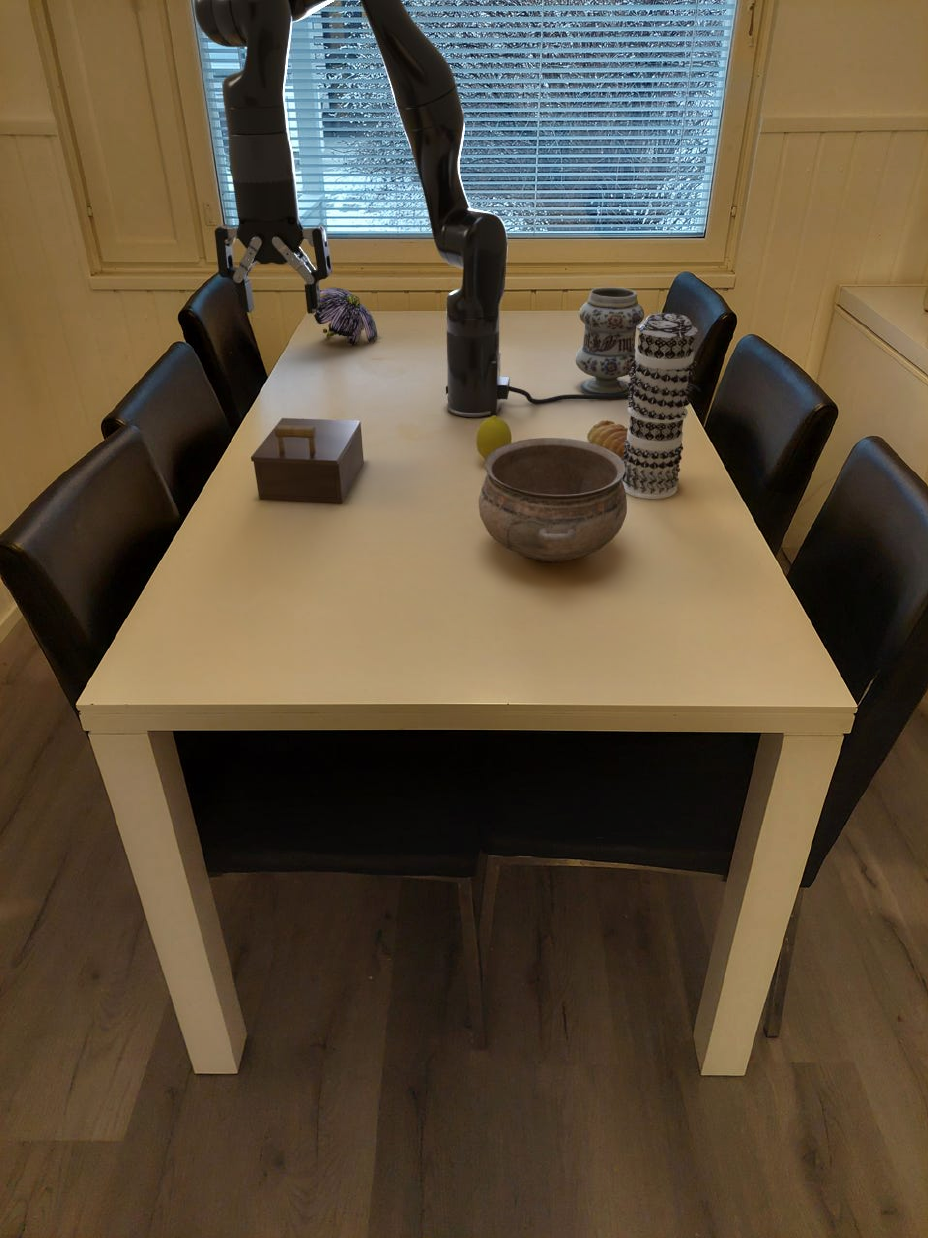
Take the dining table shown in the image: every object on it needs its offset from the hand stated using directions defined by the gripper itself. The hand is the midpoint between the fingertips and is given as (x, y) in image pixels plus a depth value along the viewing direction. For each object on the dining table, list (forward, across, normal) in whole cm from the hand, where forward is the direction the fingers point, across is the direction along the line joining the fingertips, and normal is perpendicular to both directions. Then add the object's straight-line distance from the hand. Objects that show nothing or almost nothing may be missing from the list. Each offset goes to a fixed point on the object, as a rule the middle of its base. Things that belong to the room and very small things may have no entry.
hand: (280, 311), depth 115 cm
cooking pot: (+27, -37, +12) cm, 47 cm away
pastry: (+27, -46, -23) cm, 58 cm away
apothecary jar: (+27, -45, -52) cm, 74 cm away
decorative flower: (+27, +12, -79) cm, 84 cm away
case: (+27, 0, -6) cm, 28 cm away
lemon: (+27, -27, -15) cm, 41 cm away
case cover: (+21, 0, -6) cm, 21 cm away
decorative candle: (+27, -51, -9) cm, 58 cm away
